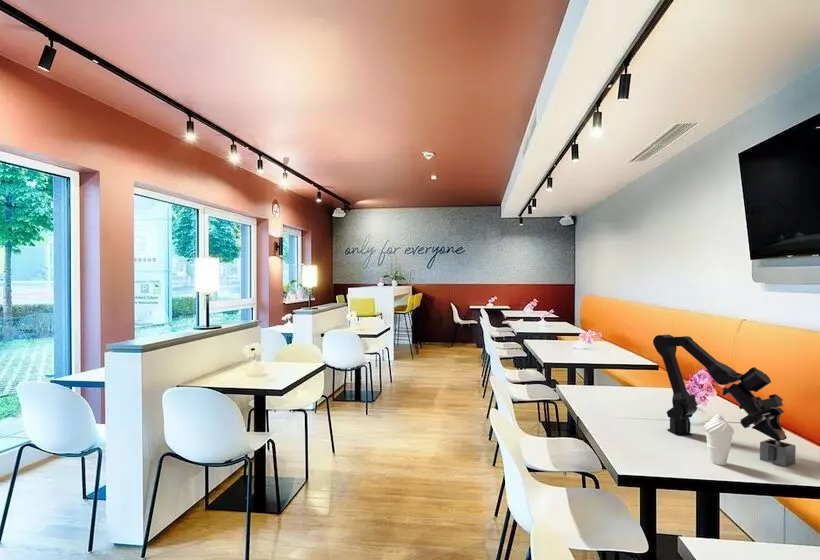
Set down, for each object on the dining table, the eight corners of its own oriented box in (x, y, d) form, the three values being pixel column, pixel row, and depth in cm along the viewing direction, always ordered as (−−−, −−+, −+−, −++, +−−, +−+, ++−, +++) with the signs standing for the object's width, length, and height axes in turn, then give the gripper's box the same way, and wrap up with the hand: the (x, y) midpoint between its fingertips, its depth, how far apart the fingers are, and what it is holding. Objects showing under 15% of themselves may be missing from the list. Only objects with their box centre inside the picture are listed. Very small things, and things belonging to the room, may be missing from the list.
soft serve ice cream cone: (734, 470, 148) (735, 419, 148) (703, 464, 153) (704, 415, 153) (732, 461, 156) (733, 413, 156) (703, 456, 160) (704, 409, 160)
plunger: (764, 451, 157) (765, 429, 157) (772, 449, 160) (772, 427, 160) (783, 456, 153) (783, 433, 153) (790, 454, 155) (790, 431, 155)
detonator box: (758, 460, 157) (758, 442, 157) (770, 456, 161) (770, 438, 161) (783, 467, 151) (783, 449, 151) (795, 463, 155) (795, 445, 155)
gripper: (751, 389, 155) (790, 431, 146) (777, 383, 165) (816, 423, 155) (725, 407, 162) (761, 448, 152) (752, 401, 171) (787, 440, 162)
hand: (782, 439), depth 155 cm, fingers closed on plunger, 4 cm apart
